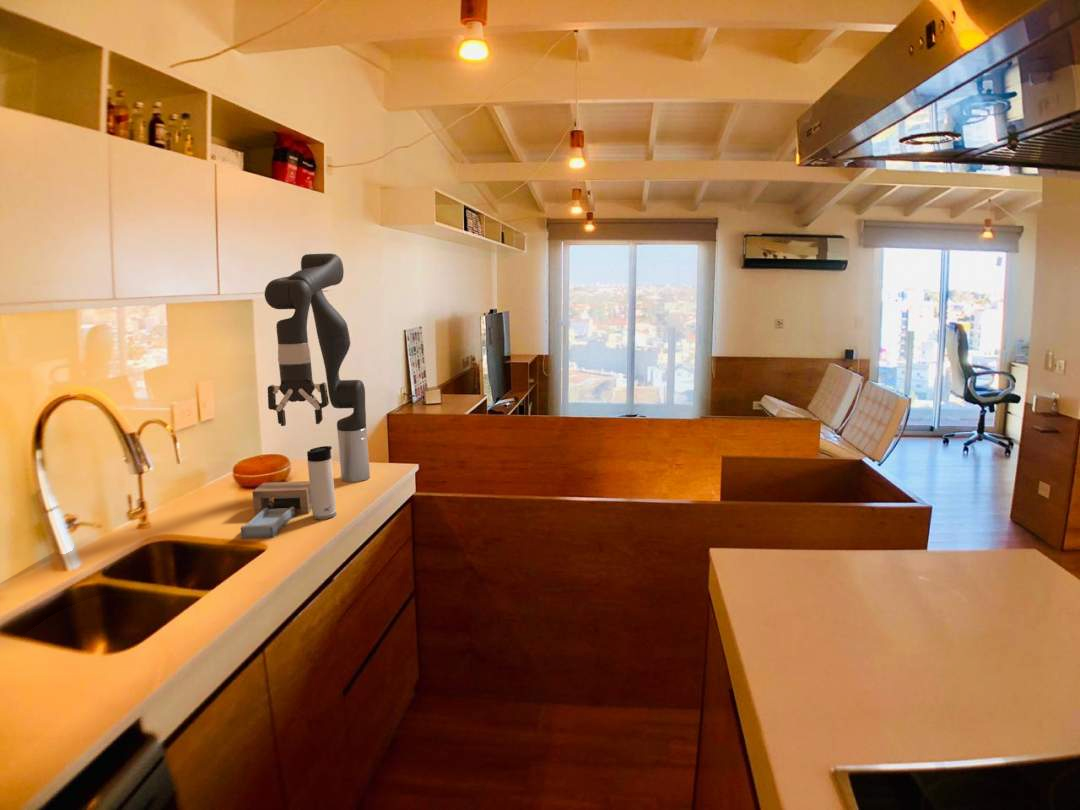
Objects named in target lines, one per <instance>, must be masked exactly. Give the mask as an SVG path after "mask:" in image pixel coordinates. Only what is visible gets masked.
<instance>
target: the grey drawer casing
mask: <svg viewBox="0 0 1080 810" xmlns="http://www.w3.org/2000/svg"><path fill="white" fill-rule="evenodd" d="M252 500H253V502H252V503H253V509H254V516H256V515H257V514H259V513H260V512H261V511H262V510H263V509H264V508H267V507H268V509H274V507H295V506H296V507H297V506H298V505H300V506H299V508H298V509H297V514H298V515H299V514H300V513H303V514H309V513H310V512H311V511H312V510H311V509H312V502H311V492H310V481H309V480H308V481H307V480H306V481H279V482H278V481H274V482H262V483H261V484H260V485H259V486H257V487H256V488H255V489H254V490H253V491H252ZM310 510H311V511H310ZM309 511H310V512H309ZM308 512H309V513H308ZM300 515H301V514H300Z"/></svg>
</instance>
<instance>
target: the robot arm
mask: <svg viewBox="0 0 1080 810" xmlns="http://www.w3.org/2000/svg"><path fill="white" fill-rule="evenodd" d="M344 274H345V272H344V264H343V261H342V259H341V258H340V256H339V255H337V254H335V253H329V252H327V253H308V254H307V253H306V254H304V255H303V256H302V257H301V259H300V270H298V271H296V272H294V273H292V274H291V275H288V276H283V277H280V278H275V279H273V280H271V281H269V282H268V284H267V285H266V287H265V289H264V298H265V302H266V304H267V305H268V306H270V307H271V308H272V309H276V310H294V312H293V315H292V316H291V317H288V318H284V319H280V320H279V321H277V322H276V328H275V329H276V335H277V336H276V337H277V361H278V368H279V376H280V377H279V379H280V384H279V385H275V384H270V385H268V387H267V405H268V406H267V408H268V409H269V410H271V411H272V410H273V411H276V413H277V415H276V416H277V422H278V424H279V425H280V426H281V427H285V426H286V425H287V421H286V411H285V410H284V409H285V407H286V405H287V404H288V403H289V402H291V403H295V402H306V401H307V402H308V403H309V404H310V405H311V406H313V407H312V408H314V417H315V424H316V425H320V423H322V421H323V408H326V407H327V406H328V405H329V404H331V406H332V407H333V408H335V409H353V411H352V413H351V414H350V415H348V416H346V417H343V418H340V419H338V420H337V422H336V431H337V441H338V442H337V443H338V452H339V453H338V454H339V455H338V456H339V463H340V464H339V467H340V477H341V478H340V479H341V481H342V482H345V483H358V482H363V480H364V481H366V480H368V479H370V478H371V474H370V473H371V472H370V457H369V444H368V433H367V432H368V430H367V412H366V387H365V385H364V382H363V381H362V380H360V379H346V380H345V379H344V380H343V379H342V380H341V379H340V375H339V374H340V368H341V366H342V364H343V362H344V360H345V358H346V356H347V354H348V353H349V350H350V348H351V338H350V332H349V328H348V324H347V321H346V320H345V319H344V317H343V316H342V315H341V314H340V313H339V311H338V310H337V309H335V308H334V306H333V305H332V304H331V303H330V302H329V300H328V299H327V298H326V296H325V293H324V291H323V290H324V289H326V288H329V287H331V286H337V285H339V284H341V282H342V281H343V279H344ZM310 307H311V310H312V314H313V318H314V325H315V328H316V329H315V330H316V335H317V340H318V343H319V349H320V351H321V355H322V359H323V365H324V369H325V377H326V382H321V383H314V381H313V371H312V360H311V359H312V358H311V350H310V346H309V340H308V339H309V338H308V327H307V325H308V317H309V311H310ZM315 390H316V391H317V392H318V393H320V399H321V402H320V401H319V400H318V399H317V397H316V396H315V395H314V394H313V393H314V391H315ZM279 391H280V392H281V394H282V395H283V397H282V398H281V401H280V402H279V404H277V398H276V397H277V396H276V395H277V394H278V393H279Z"/></svg>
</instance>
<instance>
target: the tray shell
mask: <svg viewBox="0 0 1080 810" xmlns="http://www.w3.org/2000/svg"><path fill="white" fill-rule="evenodd" d="M295 515H296V513H295V506H289V508H272V509H268V507H267V508H264V509H263V510H262V511H261V512H260V513H259V514H257V515H254V517H253V518H252V519H251V520H250V521H249V522H247V523H246V524H245V525H242V526H240V533H241V539H262V538H264V539H266V538H268V539H270V538H274V537H276V535H278V533H280V531H281V530H283V528H284V527H285V526H286V525H287V524H288V523H289V522H290V521H291V520H292V518H294V516H295Z"/></svg>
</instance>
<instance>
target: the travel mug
mask: <svg viewBox="0 0 1080 810" xmlns="http://www.w3.org/2000/svg"><path fill="white" fill-rule="evenodd" d="M332 449H333V447H332V445H331V446H329V445H324V446H323V445H322V446H318V447H314V448H311V449H309V450H308V451H306V454H307V455H306V456H307V470H308V481H310V492H311V502H312V510H311V511H312V518H313V519H314V518H315V520H317V519H325V520H328V519H327V518H330V519H331V517H332V518H334V517H335V516H337V505H336V494H335V483H334V473H333V471H334V470H333V461H332V452H331V450H332Z"/></svg>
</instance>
